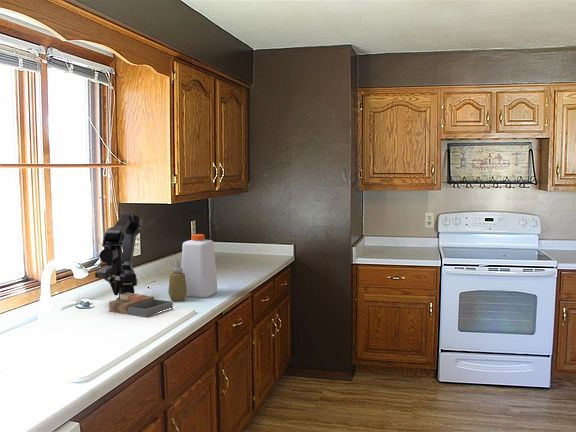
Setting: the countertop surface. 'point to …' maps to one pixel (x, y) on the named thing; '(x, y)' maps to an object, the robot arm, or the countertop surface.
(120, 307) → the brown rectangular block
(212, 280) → the plastic bottle
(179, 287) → the squeeze bottle
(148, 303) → the charcoal bin
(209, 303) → the countertop surface
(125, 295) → the cream block
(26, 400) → the countertop surface
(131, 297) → the terracotta tile
